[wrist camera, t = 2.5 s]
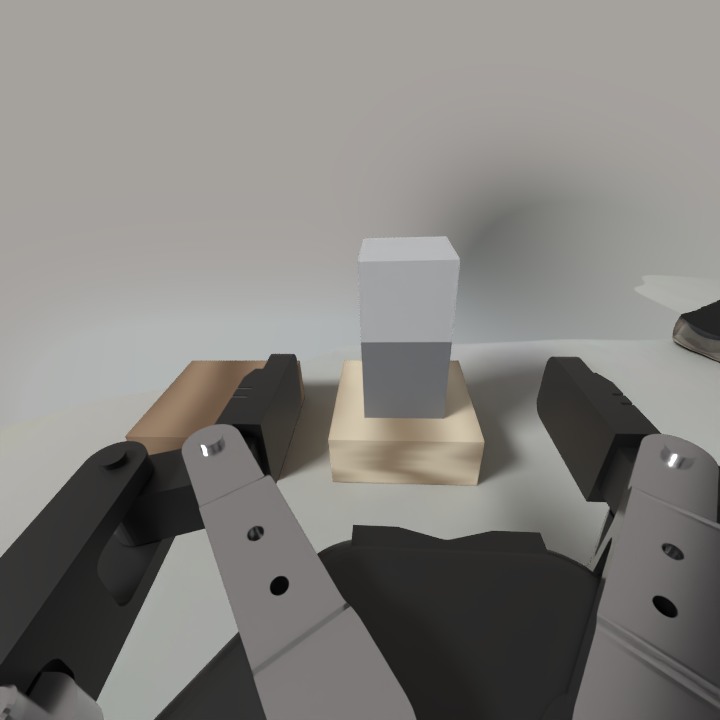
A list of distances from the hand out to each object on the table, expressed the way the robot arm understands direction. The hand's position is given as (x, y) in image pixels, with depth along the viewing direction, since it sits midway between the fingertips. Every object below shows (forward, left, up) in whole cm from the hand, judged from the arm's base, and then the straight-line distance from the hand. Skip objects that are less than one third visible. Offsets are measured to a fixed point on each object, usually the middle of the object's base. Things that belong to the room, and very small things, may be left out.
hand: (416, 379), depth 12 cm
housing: (0, -13, -10) cm, 16 cm away
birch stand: (0, -13, -14) cm, 19 cm away
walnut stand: (+14, -13, -14) cm, 23 cm away
